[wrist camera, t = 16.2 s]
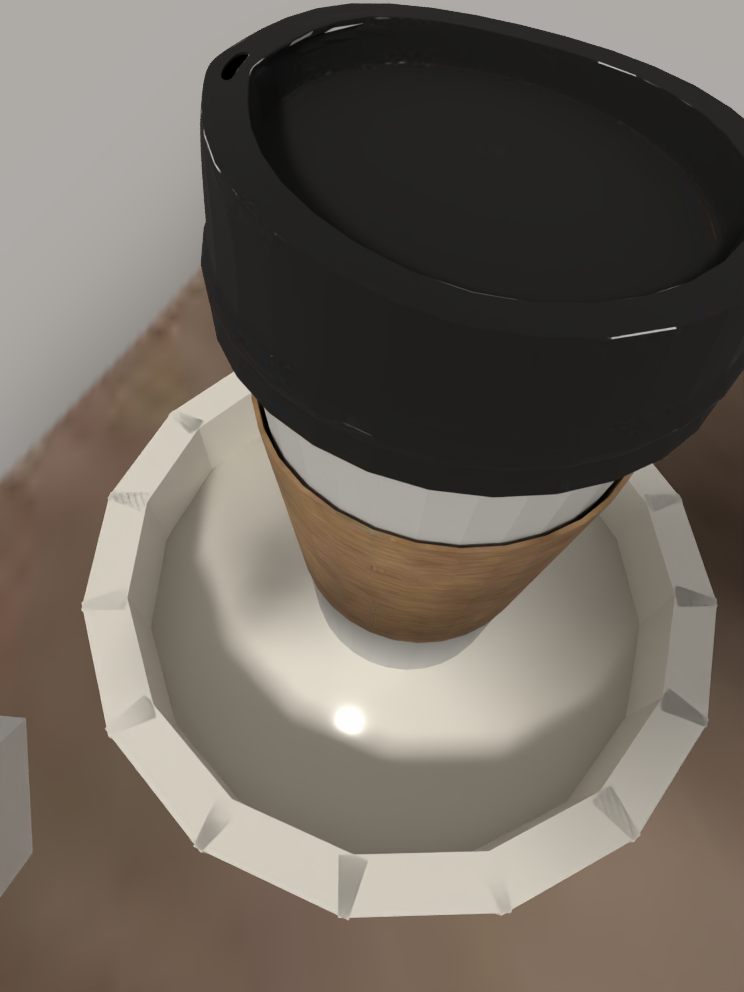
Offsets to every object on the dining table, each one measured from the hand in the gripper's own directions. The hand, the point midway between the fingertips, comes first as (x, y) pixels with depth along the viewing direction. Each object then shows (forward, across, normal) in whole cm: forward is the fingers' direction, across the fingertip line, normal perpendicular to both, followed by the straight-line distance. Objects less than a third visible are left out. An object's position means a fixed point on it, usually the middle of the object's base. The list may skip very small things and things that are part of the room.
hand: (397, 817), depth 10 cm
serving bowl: (+11, 0, 0) cm, 11 cm away
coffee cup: (+10, 0, 0) cm, 10 cm away
